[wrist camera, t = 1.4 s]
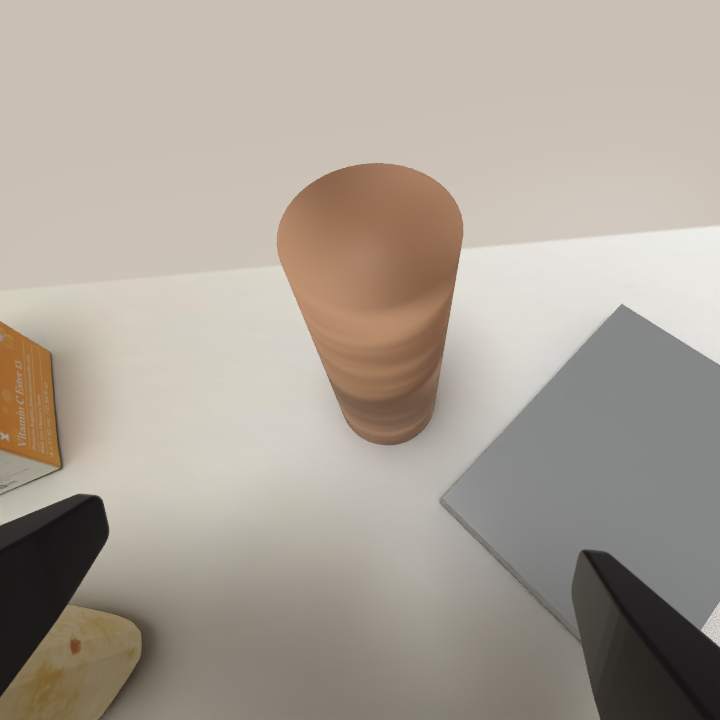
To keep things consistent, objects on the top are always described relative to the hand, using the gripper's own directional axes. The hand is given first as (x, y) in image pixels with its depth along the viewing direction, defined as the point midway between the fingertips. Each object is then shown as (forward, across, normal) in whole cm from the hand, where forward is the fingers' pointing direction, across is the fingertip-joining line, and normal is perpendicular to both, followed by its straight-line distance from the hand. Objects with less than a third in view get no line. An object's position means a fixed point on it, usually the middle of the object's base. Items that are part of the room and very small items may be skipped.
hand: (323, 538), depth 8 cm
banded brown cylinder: (+15, 0, +4) cm, 15 cm away
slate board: (+13, -11, +6) cm, 18 cm away
